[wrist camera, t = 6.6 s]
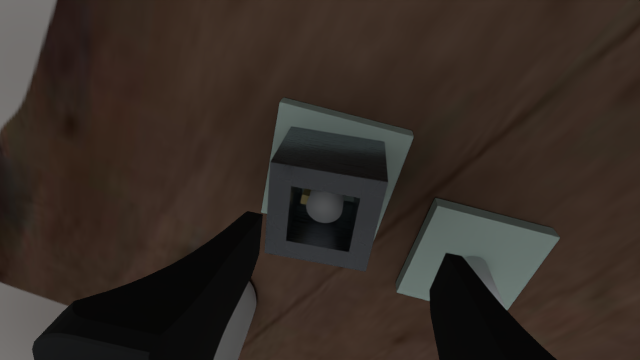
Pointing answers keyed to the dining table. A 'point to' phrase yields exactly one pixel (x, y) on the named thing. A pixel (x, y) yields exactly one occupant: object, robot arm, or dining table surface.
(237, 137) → the dining table surface
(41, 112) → the dining table surface
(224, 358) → the milk bottle
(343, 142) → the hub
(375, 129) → the square peg base
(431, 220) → the square peg board
